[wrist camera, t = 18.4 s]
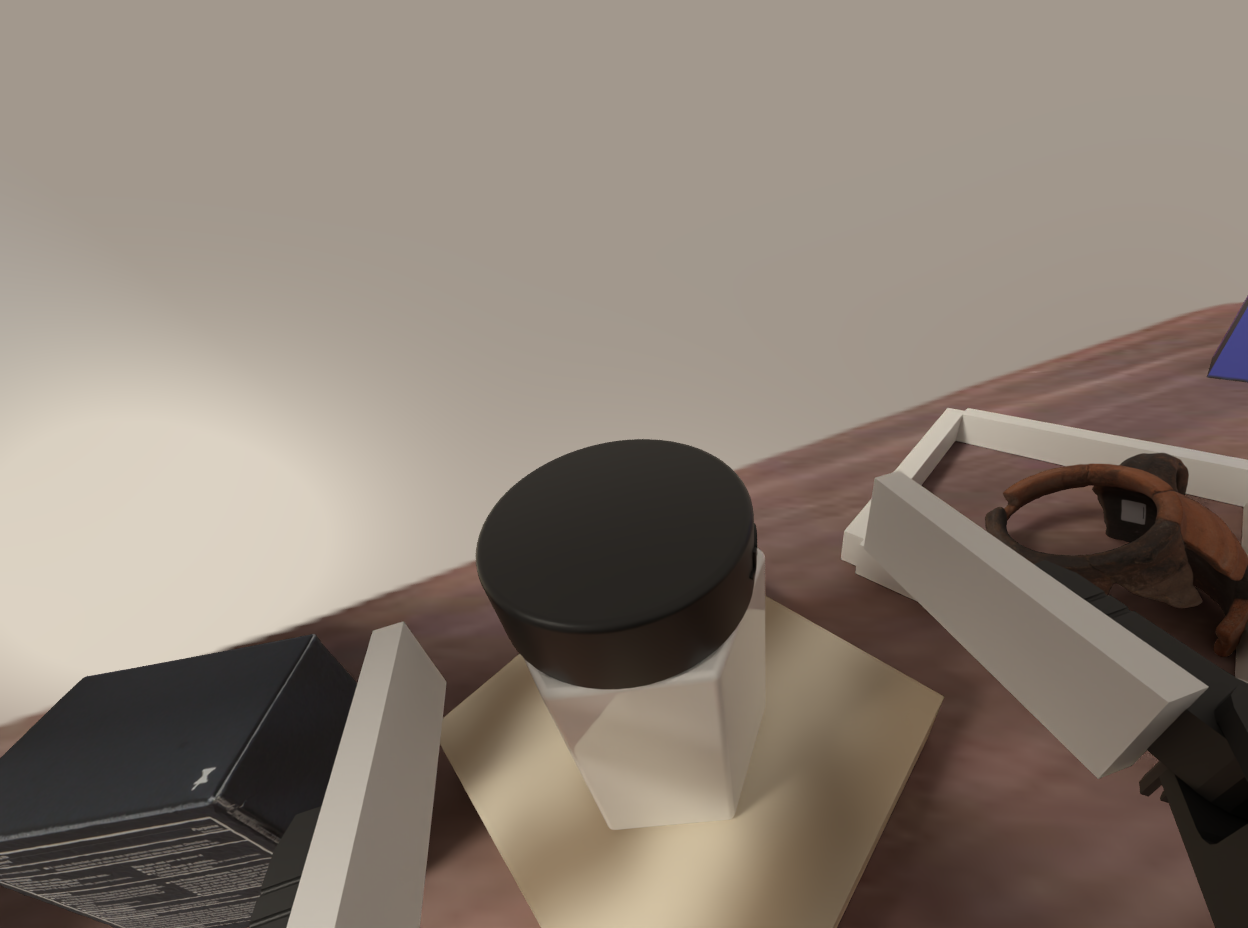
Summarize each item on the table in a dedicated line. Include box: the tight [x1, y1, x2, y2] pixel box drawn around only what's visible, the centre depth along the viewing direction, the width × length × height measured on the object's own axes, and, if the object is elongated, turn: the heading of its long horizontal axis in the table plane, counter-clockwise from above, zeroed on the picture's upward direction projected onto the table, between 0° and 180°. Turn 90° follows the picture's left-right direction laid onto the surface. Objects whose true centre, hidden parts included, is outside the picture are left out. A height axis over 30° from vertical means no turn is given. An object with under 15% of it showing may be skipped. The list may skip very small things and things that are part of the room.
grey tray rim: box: [841, 408, 1248, 683], centre depth 27 cm, size 17×19×2 cm
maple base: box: [440, 596, 944, 928], centre depth 21 cm, size 16×16×4 cm
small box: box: [0, 634, 357, 928], centre depth 19 cm, size 11×6×10 cm, turn 94°
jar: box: [476, 439, 766, 830], centre depth 16 cm, size 9×8×12 cm
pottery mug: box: [985, 453, 1248, 657], centre depth 24 cm, size 12×10×8 cm
